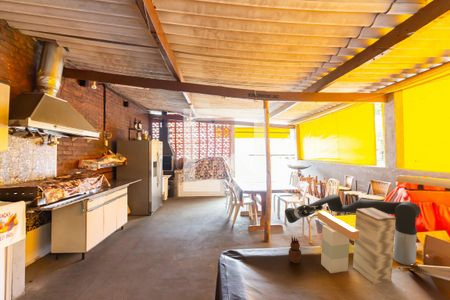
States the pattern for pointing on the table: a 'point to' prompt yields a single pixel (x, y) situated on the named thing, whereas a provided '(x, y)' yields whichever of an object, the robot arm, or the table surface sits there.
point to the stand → (374, 244)
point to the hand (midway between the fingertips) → (315, 207)
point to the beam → (338, 225)
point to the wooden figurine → (294, 251)
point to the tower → (334, 250)
